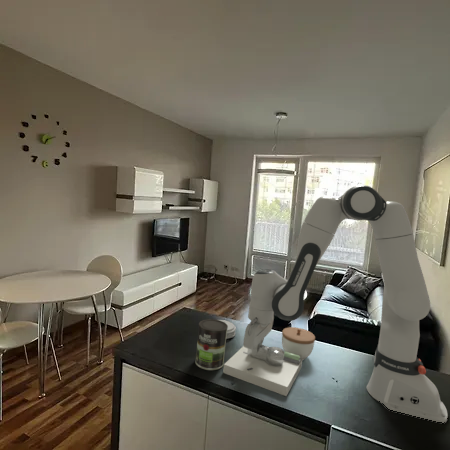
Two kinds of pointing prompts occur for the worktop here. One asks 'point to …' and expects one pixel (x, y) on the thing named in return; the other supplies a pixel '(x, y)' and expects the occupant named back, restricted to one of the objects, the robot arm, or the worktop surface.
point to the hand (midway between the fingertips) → (256, 351)
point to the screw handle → (269, 354)
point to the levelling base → (264, 371)
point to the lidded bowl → (298, 341)
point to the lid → (229, 329)
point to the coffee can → (211, 344)
